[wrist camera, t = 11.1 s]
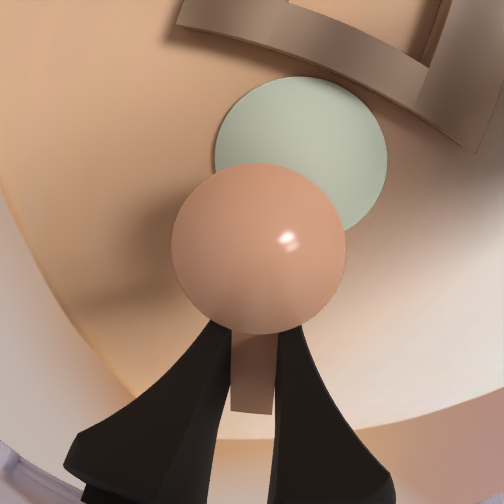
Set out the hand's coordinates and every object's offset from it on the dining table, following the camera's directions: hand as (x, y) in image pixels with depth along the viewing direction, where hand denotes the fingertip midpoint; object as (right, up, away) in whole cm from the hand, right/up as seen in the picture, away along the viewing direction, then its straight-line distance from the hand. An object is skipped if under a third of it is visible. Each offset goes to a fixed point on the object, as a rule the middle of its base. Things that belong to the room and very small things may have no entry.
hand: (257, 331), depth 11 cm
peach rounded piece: (+1, +2, +4) cm, 4 cm away
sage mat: (+2, +7, +4) cm, 9 cm away
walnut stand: (+6, +16, -2) cm, 17 cm away
